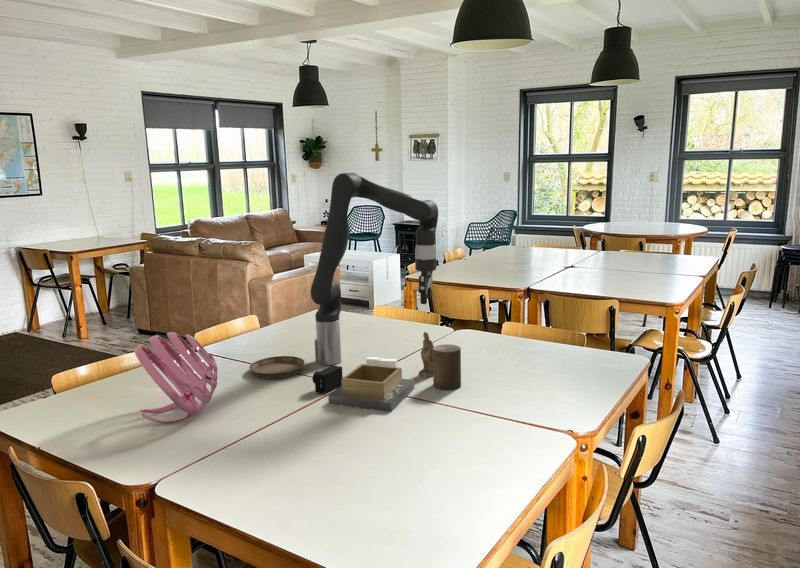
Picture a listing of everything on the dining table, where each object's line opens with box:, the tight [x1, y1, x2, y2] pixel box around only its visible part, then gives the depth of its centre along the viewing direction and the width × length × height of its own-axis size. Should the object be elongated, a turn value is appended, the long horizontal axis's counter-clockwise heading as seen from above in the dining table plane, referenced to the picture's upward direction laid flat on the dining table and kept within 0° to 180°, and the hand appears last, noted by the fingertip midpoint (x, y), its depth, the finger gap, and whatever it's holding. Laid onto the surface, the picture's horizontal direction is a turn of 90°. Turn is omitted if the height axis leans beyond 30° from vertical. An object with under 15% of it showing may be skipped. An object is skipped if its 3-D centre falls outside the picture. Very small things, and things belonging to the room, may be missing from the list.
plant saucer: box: [248, 355, 305, 380], centre depth 240 cm, size 21×21×3 cm
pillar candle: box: [432, 343, 462, 391], centre depth 219 cm, size 10×10×15 cm
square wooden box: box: [327, 363, 416, 413], centre depth 212 cm, size 22×22×8 cm
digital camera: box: [311, 364, 344, 395], centre depth 220 cm, size 10×5×7 cm, turn 149°
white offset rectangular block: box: [365, 356, 398, 368], centre depth 237 cm, size 15×11×6 cm
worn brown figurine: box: [418, 331, 435, 378], centre depth 233 cm, size 12×6×18 cm, turn 131°
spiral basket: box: [134, 331, 219, 424], centre depth 198 cm, size 28×28×27 cm
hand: (425, 301), depth 228 cm, fingers open, 8 cm apart
